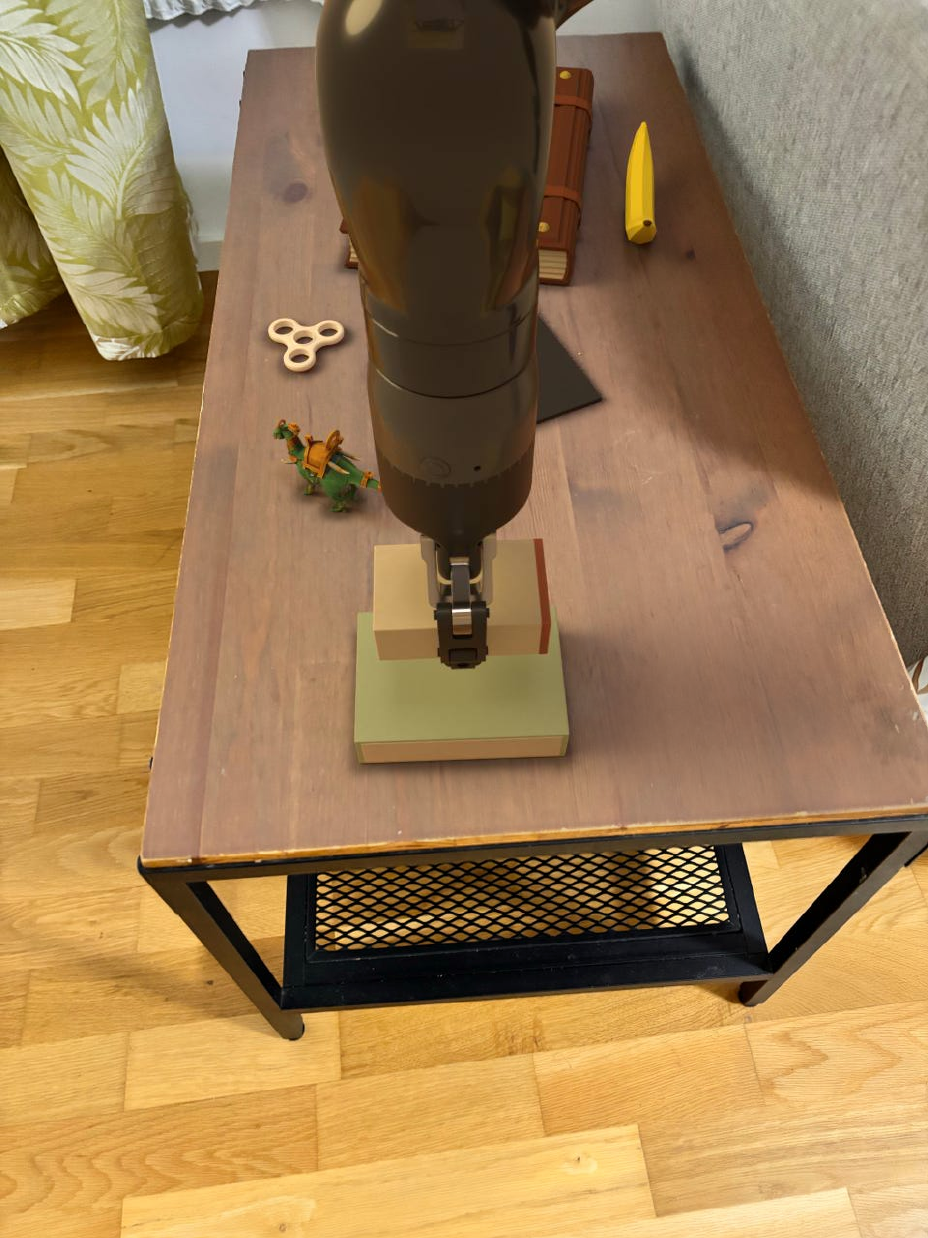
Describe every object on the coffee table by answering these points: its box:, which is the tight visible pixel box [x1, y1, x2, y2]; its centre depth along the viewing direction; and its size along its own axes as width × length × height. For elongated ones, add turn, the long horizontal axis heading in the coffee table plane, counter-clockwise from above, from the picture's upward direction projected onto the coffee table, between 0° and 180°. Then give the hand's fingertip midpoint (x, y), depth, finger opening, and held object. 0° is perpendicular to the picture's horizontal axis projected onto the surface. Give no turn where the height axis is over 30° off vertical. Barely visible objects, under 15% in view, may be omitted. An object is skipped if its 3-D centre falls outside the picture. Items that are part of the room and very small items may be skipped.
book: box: [339, 66, 595, 285], centre depth 96 cm, size 23×32×5 cm
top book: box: [372, 537, 551, 661], centre depth 55 cm, size 10×6×4 cm, turn 92°
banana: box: [624, 121, 658, 245], centre depth 91 cm, size 3×19×6 cm, turn 175°
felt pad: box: [536, 314, 603, 425], centre depth 83 cm, size 14×9×1 cm, turn 26°
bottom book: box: [353, 605, 570, 764], centre depth 64 cm, size 14×10×4 cm
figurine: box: [272, 418, 382, 513], centre depth 71 cm, size 3×12×8 cm, turn 57°
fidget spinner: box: [267, 317, 345, 372], centre depth 84 cm, size 7×6×1 cm
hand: (460, 613), depth 56 cm, fingers closed on top book, 6 cm apart
